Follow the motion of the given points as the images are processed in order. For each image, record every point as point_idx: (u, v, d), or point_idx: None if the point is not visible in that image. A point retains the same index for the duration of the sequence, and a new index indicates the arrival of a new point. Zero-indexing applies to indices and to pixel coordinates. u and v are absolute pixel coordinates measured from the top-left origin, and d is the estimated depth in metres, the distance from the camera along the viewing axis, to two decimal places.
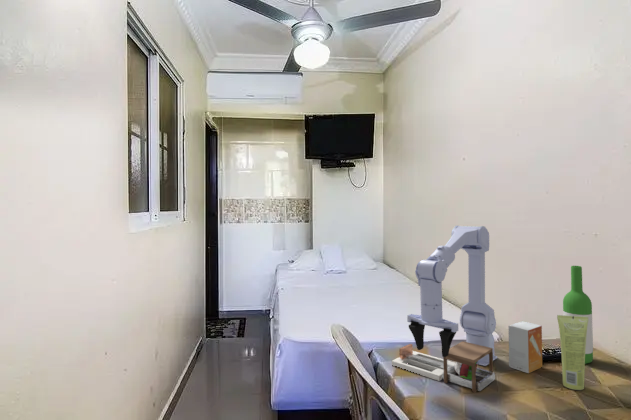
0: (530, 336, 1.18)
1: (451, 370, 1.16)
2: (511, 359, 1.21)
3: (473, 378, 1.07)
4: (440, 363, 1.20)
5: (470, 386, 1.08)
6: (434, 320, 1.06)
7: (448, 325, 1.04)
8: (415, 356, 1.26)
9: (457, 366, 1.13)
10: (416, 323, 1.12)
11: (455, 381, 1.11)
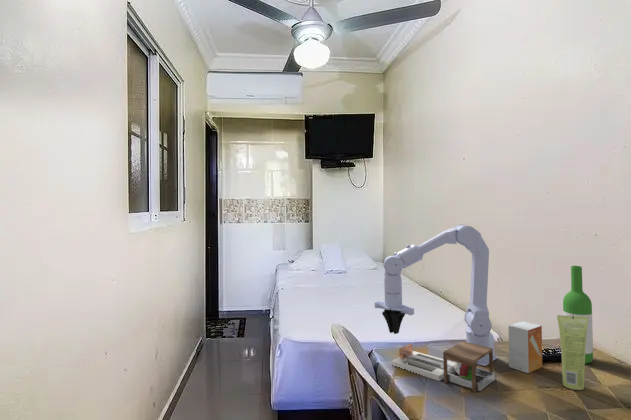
0: (530, 336, 1.18)
1: (451, 370, 1.16)
2: (511, 359, 1.21)
3: (473, 378, 1.07)
4: (440, 363, 1.20)
5: (470, 386, 1.08)
6: (394, 305, 1.29)
7: (405, 309, 1.27)
8: (415, 356, 1.26)
9: (457, 366, 1.13)
10: None
11: (455, 381, 1.11)
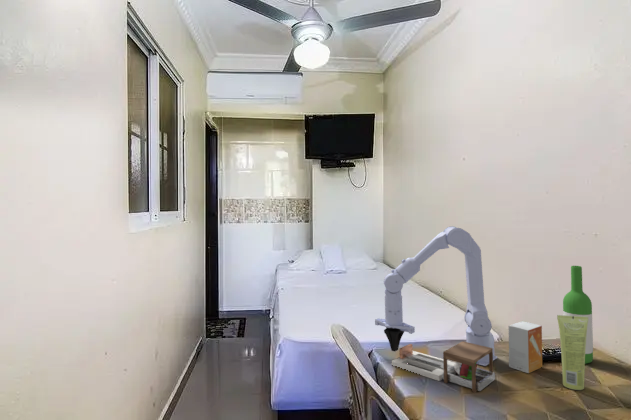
0: (530, 336, 1.18)
1: (451, 370, 1.16)
2: (511, 359, 1.21)
3: (473, 378, 1.07)
4: (440, 363, 1.20)
5: (470, 386, 1.08)
6: (395, 323, 1.29)
7: (406, 328, 1.27)
8: (415, 356, 1.26)
9: (457, 366, 1.13)
10: None
11: (455, 381, 1.11)
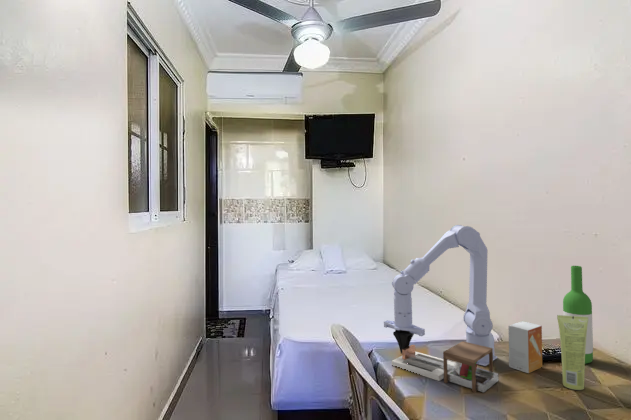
0: (530, 336, 1.18)
1: (454, 371, 1.16)
2: (511, 359, 1.21)
3: (473, 378, 1.07)
4: (443, 364, 1.20)
5: None
6: (404, 326, 1.27)
7: (416, 330, 1.25)
8: (418, 357, 1.26)
9: (457, 366, 1.13)
10: None
11: (458, 382, 1.11)
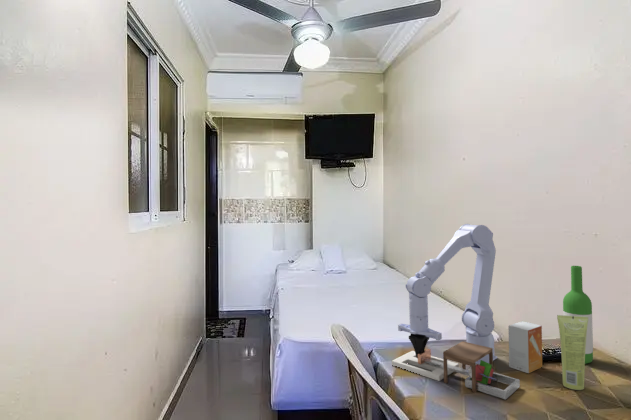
0: (530, 336, 1.18)
1: None
2: (511, 359, 1.21)
3: (473, 378, 1.07)
4: (461, 369, 1.15)
5: (495, 394, 1.04)
6: (420, 329, 1.22)
7: (433, 334, 1.20)
8: (434, 362, 1.21)
9: (470, 370, 1.10)
10: None
11: (478, 388, 1.07)
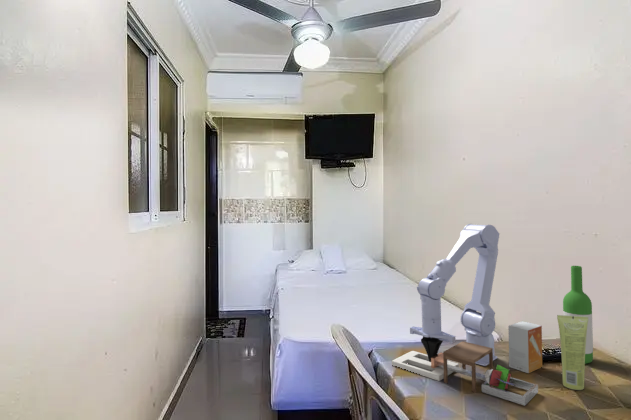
0: (530, 336, 1.18)
1: None
2: (511, 359, 1.21)
3: (473, 378, 1.07)
4: (477, 374, 1.12)
5: (513, 400, 1.00)
6: (433, 332, 1.19)
7: (446, 337, 1.17)
8: (448, 366, 1.18)
9: (487, 375, 1.07)
10: None
11: (496, 394, 1.03)
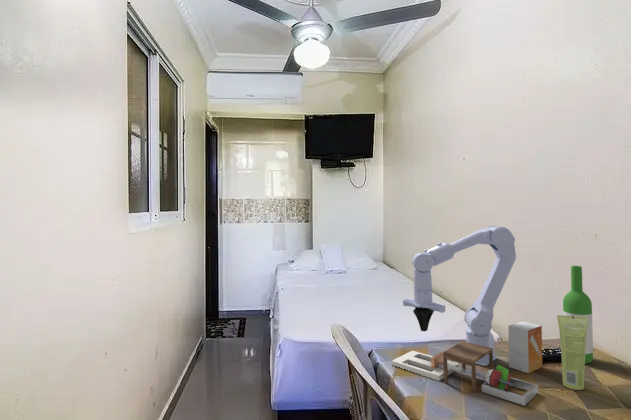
0: (530, 336, 1.18)
1: None
2: (511, 359, 1.21)
3: (473, 378, 1.07)
4: (477, 374, 1.12)
5: (513, 400, 1.00)
6: (425, 303, 1.28)
7: (437, 307, 1.26)
8: (448, 366, 1.18)
9: (487, 375, 1.07)
10: None
11: (496, 394, 1.03)
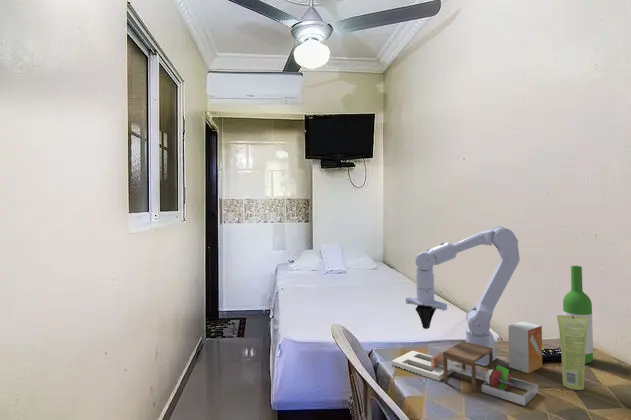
0: (530, 336, 1.18)
1: None
2: (511, 359, 1.21)
3: (473, 378, 1.07)
4: (477, 374, 1.12)
5: (513, 400, 1.00)
6: (427, 301, 1.30)
7: (439, 305, 1.28)
8: (448, 366, 1.18)
9: (487, 375, 1.07)
10: None
11: (496, 394, 1.03)
